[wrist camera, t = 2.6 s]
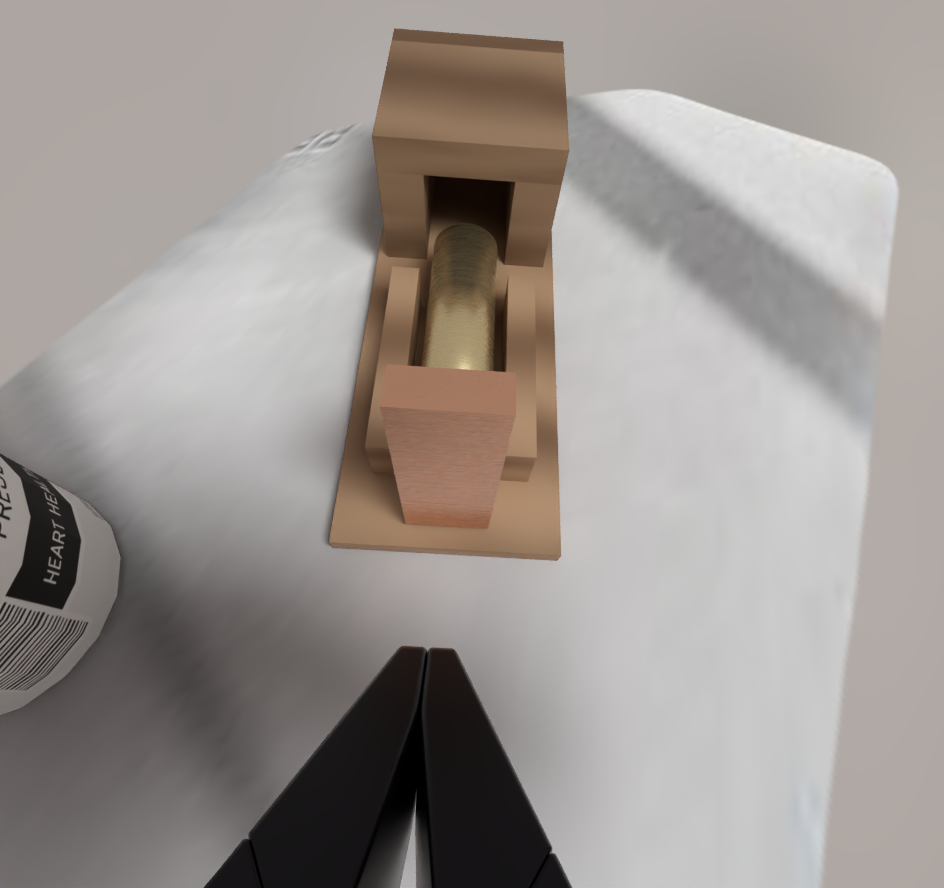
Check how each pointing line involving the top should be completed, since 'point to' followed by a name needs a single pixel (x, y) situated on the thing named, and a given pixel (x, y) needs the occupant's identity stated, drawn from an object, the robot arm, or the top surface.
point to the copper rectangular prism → (452, 393)
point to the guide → (517, 279)
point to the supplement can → (48, 582)
